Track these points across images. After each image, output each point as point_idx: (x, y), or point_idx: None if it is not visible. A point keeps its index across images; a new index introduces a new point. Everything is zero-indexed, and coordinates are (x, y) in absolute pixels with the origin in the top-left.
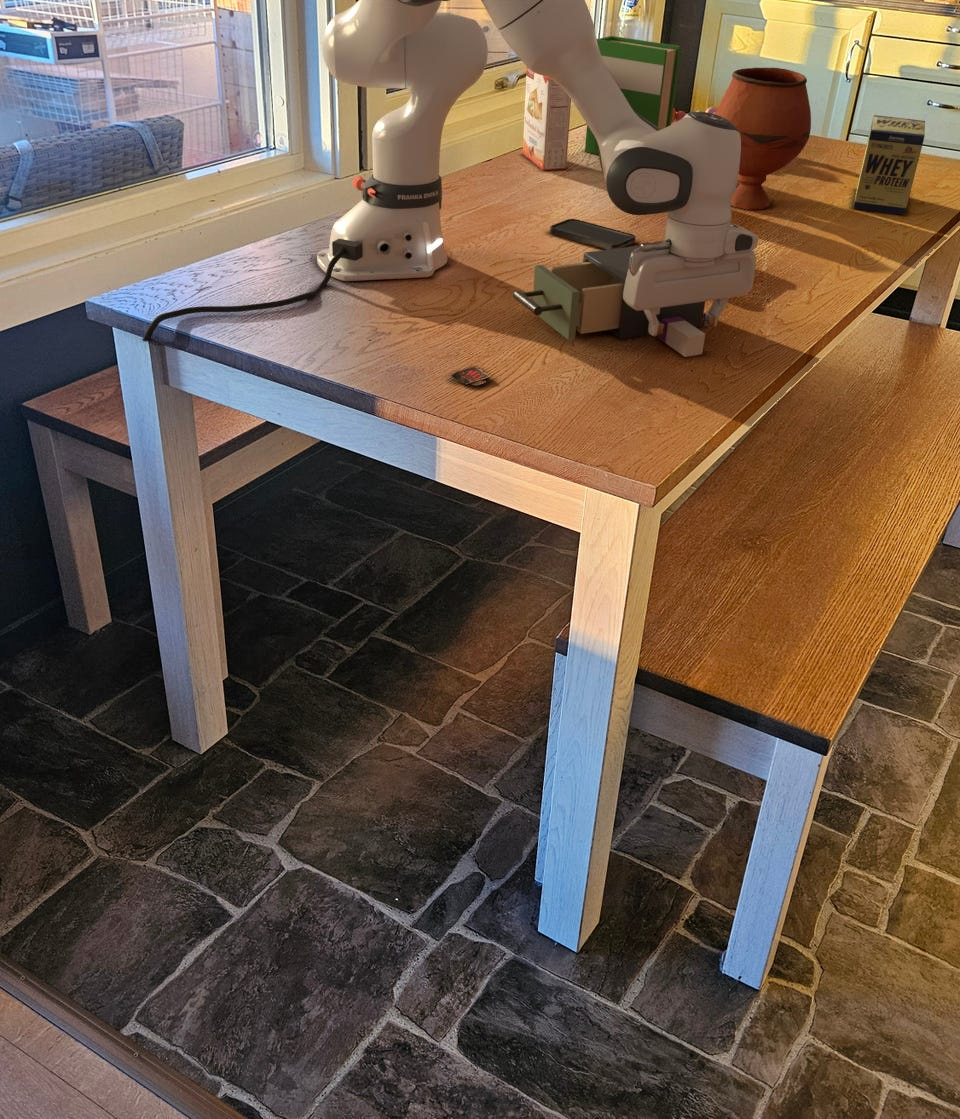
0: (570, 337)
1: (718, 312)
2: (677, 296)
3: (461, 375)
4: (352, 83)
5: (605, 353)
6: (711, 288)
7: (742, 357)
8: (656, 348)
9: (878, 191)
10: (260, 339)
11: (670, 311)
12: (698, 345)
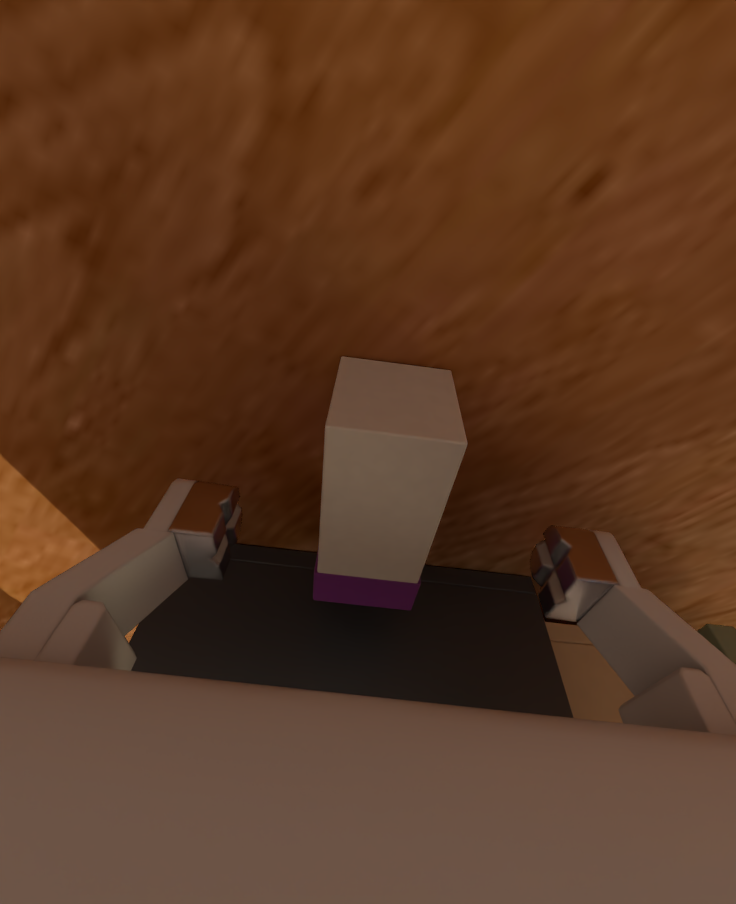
0: (730, 633)
1: (136, 551)
2: (658, 855)
3: None
4: None
5: (695, 533)
6: (159, 876)
7: (115, 197)
8: (485, 487)
9: None
10: None
11: (321, 632)
12: (372, 389)
